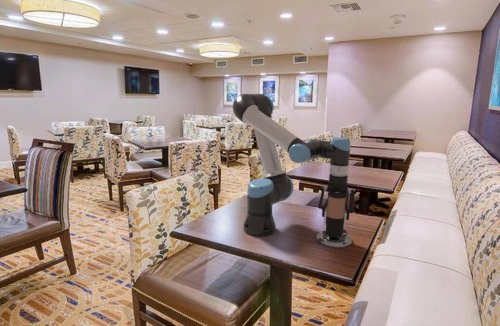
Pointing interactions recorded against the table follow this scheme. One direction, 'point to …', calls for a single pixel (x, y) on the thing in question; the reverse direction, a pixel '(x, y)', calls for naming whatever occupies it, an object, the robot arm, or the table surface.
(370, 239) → the table surface
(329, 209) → the travel mug
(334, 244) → the fitting
